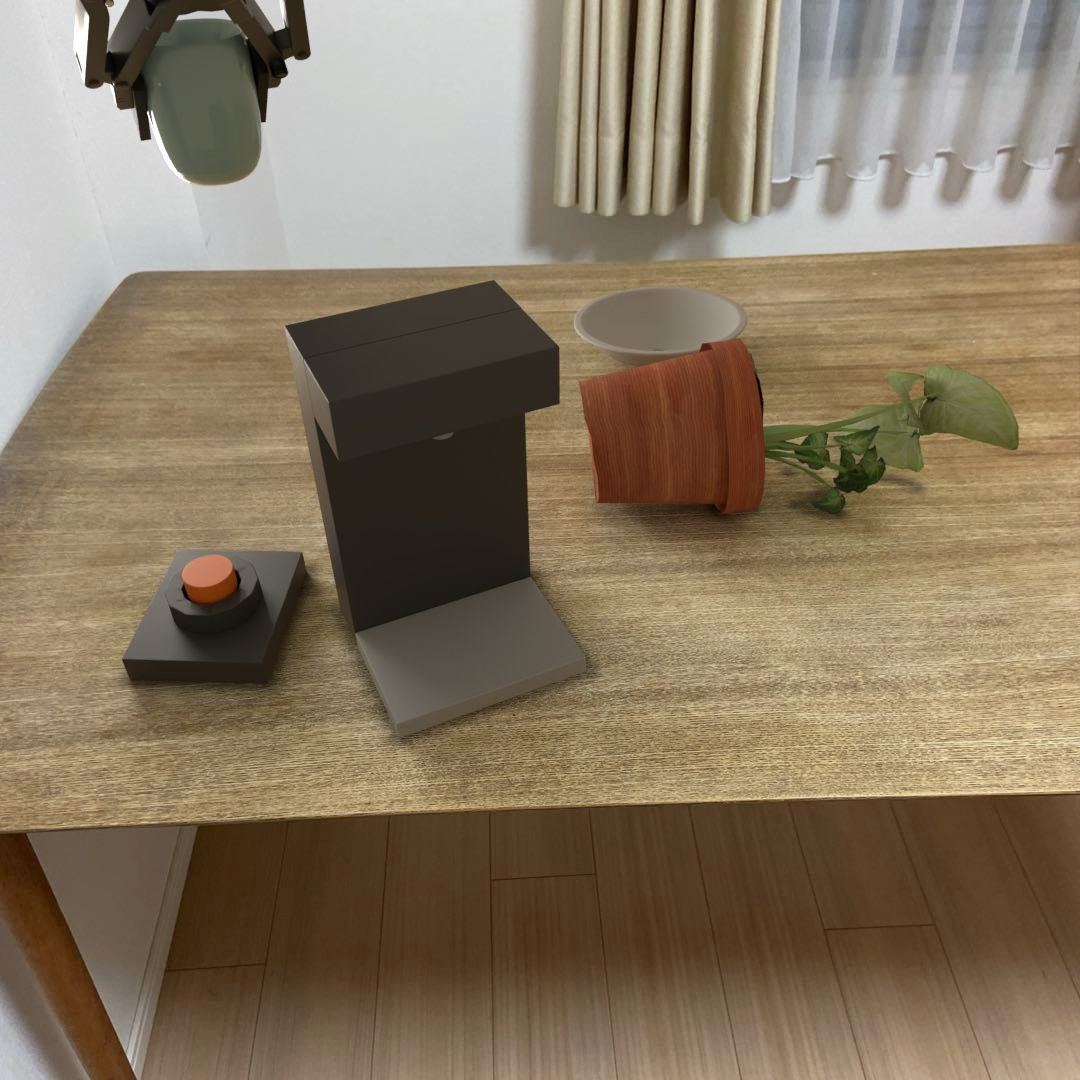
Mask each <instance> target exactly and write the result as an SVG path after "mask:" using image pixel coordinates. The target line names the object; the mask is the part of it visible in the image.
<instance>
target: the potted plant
mask: <svg viewBox="0 0 1080 1080" xmlns="http://www.w3.org/2000/svg"><path fill="white" fill-rule="evenodd" d="M755 365H756V364H755V362H754V359H753V355H752V353H751V352H749V350H748V347H747V346H746V344H745V343H744V342H743V339H741V338H735V339H733V340H726V341H718V342H710V343H702V345H701V348H700V351H699V353H694V354H690V355H686V356H682V357H678V358H674V359H670V360H665V361H661V362H657V363H653V364H649V365H645V366H641V367H638V366H635V367H633V368H629V369H625V370H621V371H616V372H612V373H607V374H604V375H600V376H599V375H598V376H595V377H591V378H587V379H583V380H579V381H578V386H579V391H580V396H581V402H582V403H581V404H582V410H583V418H584V422H585V425H586V428H587V433H588V434H587V435H588V441H589V442H588V444H589V451H590V452H589V453H590V459H591V460H590V461H591V468H592V474H593V486H594V496H595V502H596V504H655V505H656V504H662V505H664V504H667V505H670V504H672V505H673V504H675V505H676V504H677V505H679V504H680V505H715V508H716V510H717V511H718V512H719V513H720V514H723V515H724V514H731V513H740V512H750V511H751V512H752V511H756V510H757V509H758V508H759V507H760V506H761V503H762V499H763V497H764V496H763V495H764V490H765V477H766V459H770V460H773V461H777V462H781V463H784V464H785V465H789V466H791V467H793V468H795V469H798V470H801V471H803V472H805V474H807V475H808V476H809V477H811V478H813V479H814V480H816V481H817V482H820V483H821V484H823V485H825V486H827V487H830V489H829V490H828V491H827V493H825V495H824V496H822V498H820V500H812V504H813V507H814V508H815V509H817V510H819V511H820V512H828V513H830V514H835V513H839V512H841V511H843V509H844V507H845V505H846V504H847V501H846V497H845V495H844V494H843V493H846V494H850V493H852V492H855V493H858V494H862V493H863V492H865V491H866V490H868V487H870V486H873V485H876V484H878V483H879V481H881V479H882V478H883V476H884V474H885V472H886V469H887V467H886V466H891V467H892V468H896V469H898V470H899V469H900V470H911V471H913V472H916V473H918V472H920V471H922V470H923V469H925V463H924V459H923V453H922V448H921V442H920V441H921V440H920V437H923V436H931V435H933V434H949V435H955V436H959V437H961V438H964V439H968V440H972V441H976V442H981V443H984V444H988V445H990V446H991V445H992V446H995V447H998V448H1002V449H1005V450H1009V451H1016V450H1018V448H1019V445H1020V441H1019V440H1020V438H1019V437H1020V436H1019V435H1020V434H1019V433H1020V432H1019V427H1020V426H1019V423H1018V420H1017V417H1016V415H1015V413H1014V411H1013V410H1012V407H1011V406H1010V405H1009V403H1008V401H1007V400H1006V398H1005V397H1004V396H1003V395H1002V393H1001V391H1000V390H998V389H997V388H995V386H993V385H992V384H990V383H988V381H987V380H986V379H984V378H983V377H980V376H977V375H974V374H972V373H970V372H968V371H967V370H964V369H957V368H952V367H951V366H950V365H947V364H936V365H932V366H930V367H928V368H927V369H926V371H925V373H924V374H925V375H922V374H919V373H913V372H904V371H892V372H888V373H886V381H887V382H888V384H889V385H890V387H891V388H892V389H893V390H894V392H895V394H896V395H897V396H898V399H899V400H900V402H901V403H898V404H891V405H890V404H889V405H882V404H881V405H879V404H869V405H866V406H863V407H861V408H859V409H857V410H856V412H855V413H854V414H853V415H852V416H851V417H850V418H846V419H842V420H837V421H833V422H829V423H825V424H819V425H816V424H815V425H813V424H775V425H774V424H773V425H766V426H764V407H765V405H764V397H763V390H762V386H761V380H760V378H759V375H758V372H757V369H756V366H755ZM922 379H924V380H923V384H924V386H923V396H919V397H917V398H914V399H911V396H910V392H911V390H912V388H913V386H914V385H915V384H916V383H917V382H918V381H919V380H922ZM925 400H926V401H925ZM923 402H924V403H923ZM837 432H838V433H839V432H841V433H842V432H843V435H834V436H833V435H832V437H833V440H834V441H836V443H837V442H838V443H840V444H828V439H829V433H837ZM802 437H803V438H804V437H805V438H804V439H803V441H802V442H801V443H800V444H799V443H796V442H792V441H791V440H794V439H798V438H802ZM790 441H791V442H790ZM827 444H828V445H827ZM837 447H838V448H839V450H840V457H839V464H838V463H834V462H832V461H831V455H830V454H831V453H830V452H829V450H828V449H829V448H837ZM792 451H793V452H794V453H792ZM853 454H854V455H856V456H858V457H859V456H862V457H861V458H860V460H859V461H858V463H856V458H855V457H854V455H853ZM787 458H788V459H787ZM789 459H793V460H794V459H795V460H797V461H799V463H800V464H802V465H804V464H806V465H807V467H808V468H809V469H810V470H809V469H807V468H806V467H804V466H801V465H799V464H797V463H795V462H793V461H790V460H789ZM825 467H826V468H827V469H830V470H834V471H836V472H838V474H837V476H836V477H832V480H833V484H834V486H831V484H829V483H828V482H827V481H826V480H825V479H824V478H822V477H821V476H819V475H818V474H817V473H815V472H813V471H811V470H815V471H819V470H821V469H823V468H825ZM840 492H843V493H841V494H840Z"/></svg>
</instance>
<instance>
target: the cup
mask: <svg viewBox="0 0 1080 1080" xmlns="http://www.w3.org/2000/svg"><path fill="white" fill-rule="evenodd" d="M247 39H248V38H247V37H246V35H245V34H244V32H243V31H242V30H241V28H240V27H239V26H238V24H234V23H233V21H232V20H231V19H225V18H216V17H215V18H212V17H211V18H188V19H187V18H186V19H176V21H175V23H174V25H173V26H172V28H171V30H170V32H169V33H166V32H162V34H161V36H160V38H159V39H158V41H157V43H156V45H155V46H154V48H153V50H152V52H151V54H150V55H149V57H148V59H147V61H146V62H145V64H144V66H143V68H142V69H141V71H140V77H141V80H142V83H143V86H144V89H145V95H146V103H147V110H148V118H149V123H150V125H151V128H152V131H153V134H154V136H155V139H156V141H157V144H158V147H159V149H160V151H161V153H162V155H163V158H164V160H165V162H166V163H167V165H168V167H169V168H170V169H171V170H172V171H173V172H174V174H175V175H176V176H177V177H179V178H180V179H181V180H183V181H185V182H187V183H189V184H192V185H195V186H202V187H216V186H217V187H218V186H225V185H231V184H234V183H237V182H241V181H243V180H244V179H246V178H248V177H249V176H250V175H251V174H252V173H253V172H254V171H255V170H256V168H257V167H258V166H259V165H258V164H259V162H260V160H261V156H262V148H263V133H262V123H261V118H260V110H259V103H258V96H257V90H256V84H255V78H254V72H253V67H252V61H251V56H250V51H249V45H248V41H247Z"/></svg>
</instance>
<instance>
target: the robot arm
mask: <svg viewBox="0 0 1080 1080" xmlns="http://www.w3.org/2000/svg"><path fill="white" fill-rule="evenodd" d="M278 1H279V6H280V13H281V18H282V24H283V28H280V29H277V30H276V29H275V28H274V27H273V25H272V23H271V22H270V21H269V19H268V18H267V16H266V14H265V13H264V12H263V10H262V9H261V7H260V6H259V4H258V2H257V1H256V0H128V2H127V3H126V6H125V7H124V10H123V11H122V14H121V16H120V17H119V20H118V21H117V23H116V26H115V27H114V29H113V31H112V34H111V36H110V38H109V32H110V23H111V20H110V18H111V17H110V11H109V9H108V8H112V7H114V6H115V1H114V0H75V13H74V14H75V15H74V33H73V35H74V37H73V53H74V56H75V60H76V63H77V66H78V69H79V73H80V75H81V79H82V81H83V84H84V87H86V88H87V89H91V90H95V89H99V88H101V87H103V85H104V84H108V85H109V86H110V90H111V93H112V96H113V99H114V103H115V105H116V108H117V109H119V111H124V110H130V112H131V115H132V118H133V121H134V124H135V127H136V130H137V133H138V136H139V139H140V141H141V142H144V141H150V140H152V133H151V126H150V125H151V124H150V118H149V115H148V110H147V103H146V95H145V89H144V86H143V83H142V80H141V77H140V71H141V69H142V68H143V66H144V64H145V62H146V61H147V59H148V57H149V55H150V54H151V52H152V50H153V48H154V46H155V45H156V43H157V41H158V39H159V38H160V36H161V34H162V32H166V33H169V32H170V30H171V28H172V26H173V25H174V23H175V21H176V20H178V18H179V16H185V15H190V14H193V13H196V12H209V13H210V12H211V13H213V12H221V11H224V12H225V13H226V15H227V16H228V17H229V20H232V21H233V23H234V24H238V26H239V27H240V28H241V30H242V31H243V32H244V34H245V35H246V37H247V41H248V45H249V51H250V56H251V61H252V67H253V72H254V78H255V84H256V90H257V96H258V103H259V110H260V118H261V124H263V123H266V122H267V112H268V99H269V98H268V96H269V89H275V88H276V89H277V88H279V87H280V85H281V83H282V79H284V78H286V77H287V76H288V75H289V70H288V67H287V64H286V60H288V59H289V58H294V59H295V60H296V61H305V60H307V59H309V58H310V57H311V56H312V51H311V44H310V43H311V42H310V36H309V30H308V23H307V16H306V9H305V8H306V7H305V4H304V3H305V1H304V0H278Z"/></svg>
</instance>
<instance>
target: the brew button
mask: <svg viewBox="0 0 1080 1080" xmlns="http://www.w3.org/2000/svg"><path fill="white" fill-rule="evenodd" d="M182 579H183V582H184V585H185V588H186V591H187V594H188V597H189V598H190V600H191V601H193V602H194V603H197V604H212V603H215V602H219V601H222V600H225V599H227V598H228V597H229V596H231V595H232V594H233V593H234V592H235V591H236V589H237V587H238V581H237V578H236V574H235V571H234V567H233V564H232V562H231V561H230V560H229V559H228V558H227V557H224V556H221V555H207V556H202V557H199V558H197V559H195V560H193V561H192V562H190V563H189V564H188V565H187V566H186V567H185V568H184V570H183V573H182Z"/></svg>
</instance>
